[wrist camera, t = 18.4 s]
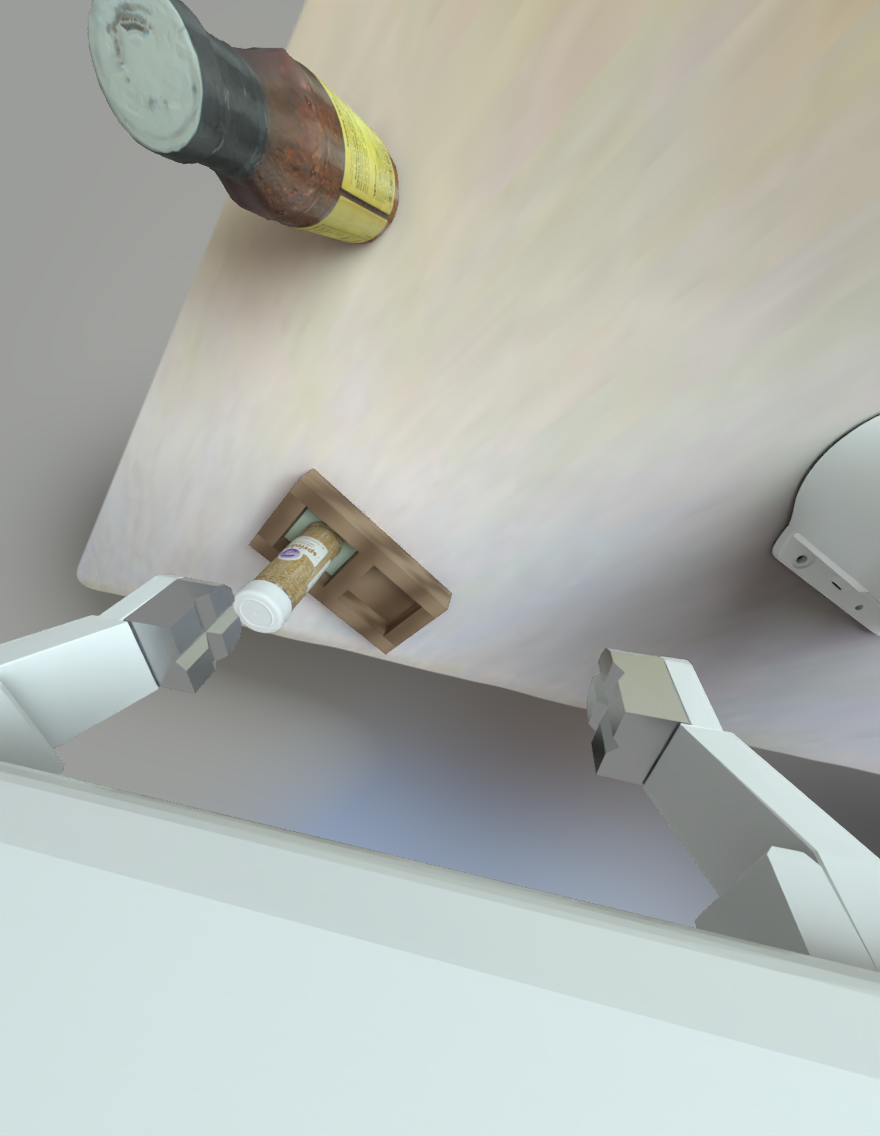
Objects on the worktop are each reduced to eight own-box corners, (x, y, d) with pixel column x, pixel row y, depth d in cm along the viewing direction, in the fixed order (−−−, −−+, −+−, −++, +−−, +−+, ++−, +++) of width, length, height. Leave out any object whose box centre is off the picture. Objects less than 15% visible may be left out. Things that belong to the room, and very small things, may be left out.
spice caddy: (452, 593, 47) (447, 609, 44) (392, 637, 52) (385, 654, 50) (313, 468, 42) (299, 478, 39) (263, 532, 47) (248, 544, 45)
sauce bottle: (345, 105, 27) (58, -217, 11) (420, 177, 28) (266, -12, 12) (304, 210, 31) (38, 91, 14) (372, 271, 32) (202, 227, 15)
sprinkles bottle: (334, 517, 43) (265, 588, 32) (349, 554, 46) (290, 633, 34) (297, 524, 45) (219, 595, 34) (314, 559, 47) (246, 637, 36)
